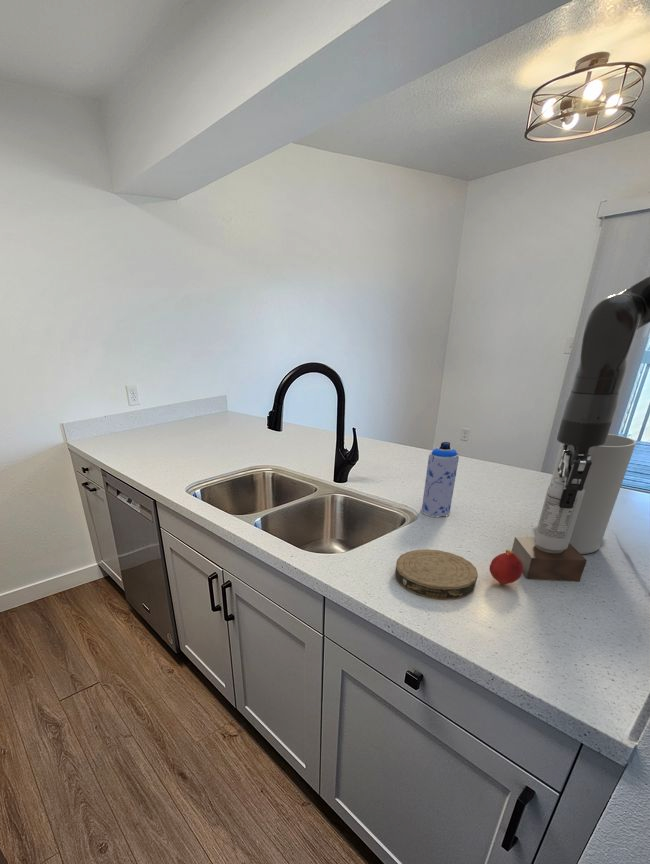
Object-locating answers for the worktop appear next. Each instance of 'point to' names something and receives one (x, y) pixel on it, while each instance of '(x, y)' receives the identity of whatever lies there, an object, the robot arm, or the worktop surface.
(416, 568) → the wood slice
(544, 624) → the worktop surface
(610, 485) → the cylinder vase
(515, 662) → the worktop surface
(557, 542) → the energy drink can
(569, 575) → the walnut block
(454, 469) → the aerosol can
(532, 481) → the worktop surface
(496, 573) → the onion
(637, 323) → the robot arm
